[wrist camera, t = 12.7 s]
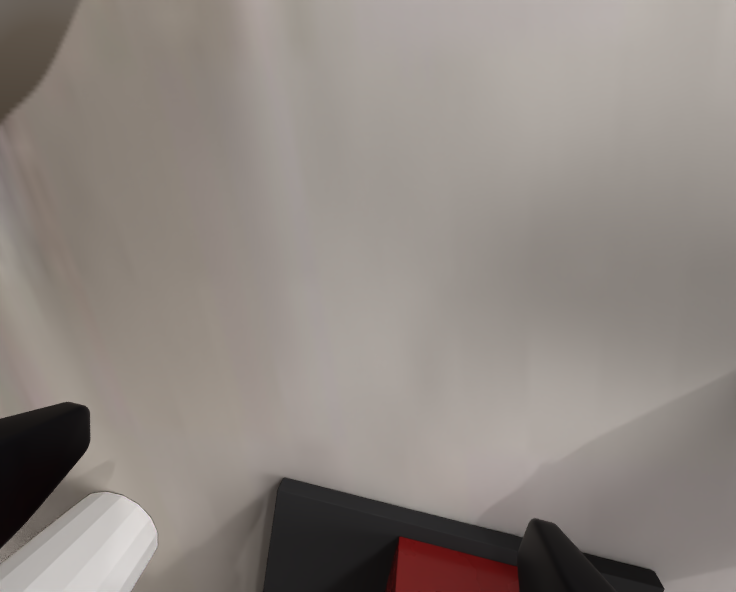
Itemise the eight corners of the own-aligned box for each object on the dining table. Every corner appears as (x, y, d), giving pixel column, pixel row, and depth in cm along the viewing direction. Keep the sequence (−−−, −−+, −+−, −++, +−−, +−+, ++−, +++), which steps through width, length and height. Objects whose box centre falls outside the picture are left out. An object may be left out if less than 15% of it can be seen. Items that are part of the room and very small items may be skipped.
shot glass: (177, 508, 25) (84, 630, 18) (157, 588, 27) (67, 724, 20) (71, 466, 25) (-58, 571, 18) (60, 548, 27) (-61, 670, 20)
